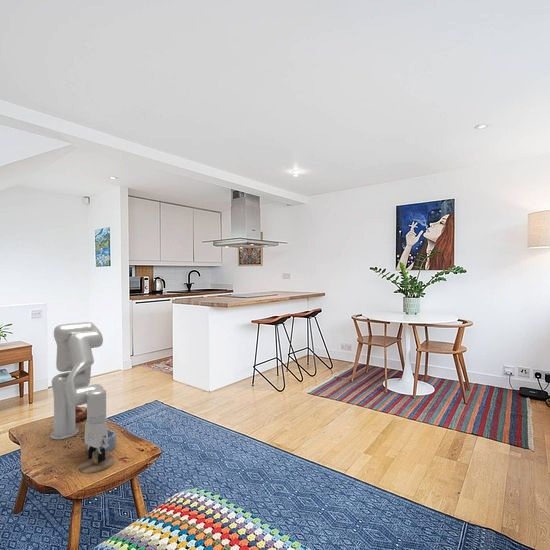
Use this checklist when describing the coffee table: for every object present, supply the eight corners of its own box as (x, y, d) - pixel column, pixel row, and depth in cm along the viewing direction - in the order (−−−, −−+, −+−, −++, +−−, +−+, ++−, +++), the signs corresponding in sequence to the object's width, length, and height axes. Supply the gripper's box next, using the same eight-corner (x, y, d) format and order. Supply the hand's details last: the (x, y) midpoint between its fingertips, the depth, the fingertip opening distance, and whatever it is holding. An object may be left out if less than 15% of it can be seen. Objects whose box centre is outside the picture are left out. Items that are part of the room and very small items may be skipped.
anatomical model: (97, 406, 202) (77, 390, 200) (81, 425, 191) (59, 408, 189) (91, 412, 208) (71, 396, 206) (74, 431, 197) (53, 414, 195)
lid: (71, 468, 148) (71, 456, 148) (100, 453, 161) (100, 441, 161) (92, 478, 142) (92, 464, 142) (121, 461, 155) (121, 449, 155)
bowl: (82, 450, 163) (82, 437, 163) (105, 440, 173) (105, 428, 173) (98, 456, 158) (98, 443, 158) (120, 445, 168) (120, 433, 168)
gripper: (76, 417, 152) (76, 458, 152) (101, 425, 144) (101, 469, 144) (92, 411, 159) (92, 450, 159) (117, 419, 151) (117, 460, 151)
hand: (96, 459), depth 152 cm, fingers open, 5 cm apart
